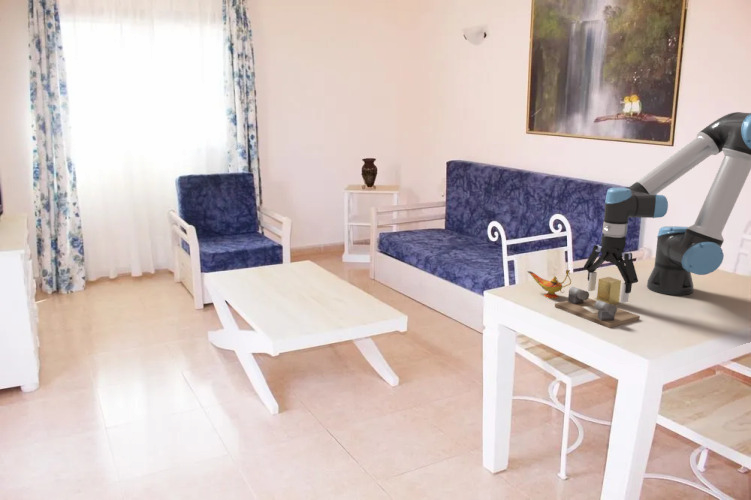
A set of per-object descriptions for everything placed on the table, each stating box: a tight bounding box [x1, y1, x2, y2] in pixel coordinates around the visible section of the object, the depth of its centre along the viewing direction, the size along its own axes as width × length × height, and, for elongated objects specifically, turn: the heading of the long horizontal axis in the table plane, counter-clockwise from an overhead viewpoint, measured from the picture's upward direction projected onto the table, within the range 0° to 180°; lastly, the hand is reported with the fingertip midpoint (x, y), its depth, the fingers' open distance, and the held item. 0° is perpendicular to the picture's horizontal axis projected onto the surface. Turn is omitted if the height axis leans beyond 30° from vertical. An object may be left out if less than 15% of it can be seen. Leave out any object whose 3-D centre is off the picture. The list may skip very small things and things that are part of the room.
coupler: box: [596, 276, 622, 305], centre depth 209 cm, size 5×5×8 cm
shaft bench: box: [554, 286, 640, 329], centre depth 199 cm, size 22×14×6 cm, turn 30°
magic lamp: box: [527, 269, 572, 299], centre depth 216 cm, size 7×18×11 cm, turn 40°
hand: (607, 296), depth 209 cm, fingers open, 13 cm apart
